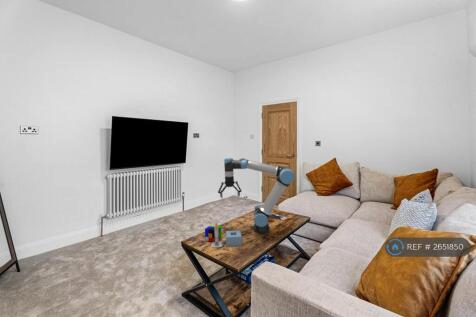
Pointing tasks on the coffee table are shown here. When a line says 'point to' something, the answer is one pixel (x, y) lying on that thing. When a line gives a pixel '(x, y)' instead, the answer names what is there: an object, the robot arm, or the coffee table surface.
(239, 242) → the block
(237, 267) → the coffee table surface
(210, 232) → the puzzle toy
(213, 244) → the tool mat
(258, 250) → the coffee table surface
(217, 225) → the chuck key
